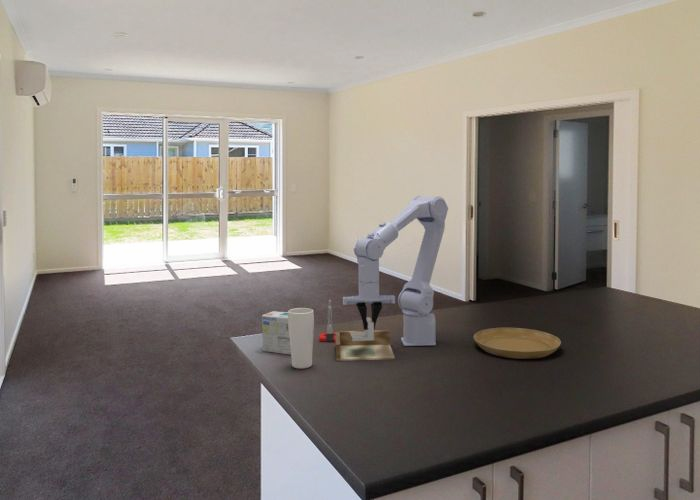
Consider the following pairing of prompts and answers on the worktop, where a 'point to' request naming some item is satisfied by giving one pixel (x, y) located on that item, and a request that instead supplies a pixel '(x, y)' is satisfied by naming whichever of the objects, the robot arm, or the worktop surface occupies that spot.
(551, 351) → the plant saucer
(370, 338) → the bracket
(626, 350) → the worktop surface
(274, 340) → the light bulb box
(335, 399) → the worktop surface
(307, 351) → the drinking glass
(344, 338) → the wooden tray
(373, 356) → the board
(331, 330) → the tow hook
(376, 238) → the robot arm
